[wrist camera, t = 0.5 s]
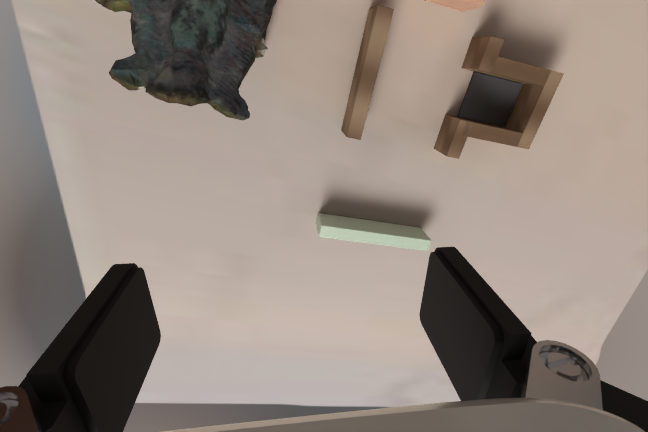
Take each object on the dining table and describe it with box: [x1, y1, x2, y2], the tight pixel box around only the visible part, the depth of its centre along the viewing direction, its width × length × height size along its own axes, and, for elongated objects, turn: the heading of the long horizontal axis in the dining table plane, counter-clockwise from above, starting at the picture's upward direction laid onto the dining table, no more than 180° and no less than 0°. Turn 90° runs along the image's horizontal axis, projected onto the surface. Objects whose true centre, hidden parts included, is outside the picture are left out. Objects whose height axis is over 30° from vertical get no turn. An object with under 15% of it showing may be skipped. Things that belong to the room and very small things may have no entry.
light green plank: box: [316, 213, 431, 251], centre depth 42 cm, size 2×14×4 cm, turn 78°
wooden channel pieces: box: [342, 5, 563, 159], centre depth 36 cm, size 12×21×4 cm, turn 78°
